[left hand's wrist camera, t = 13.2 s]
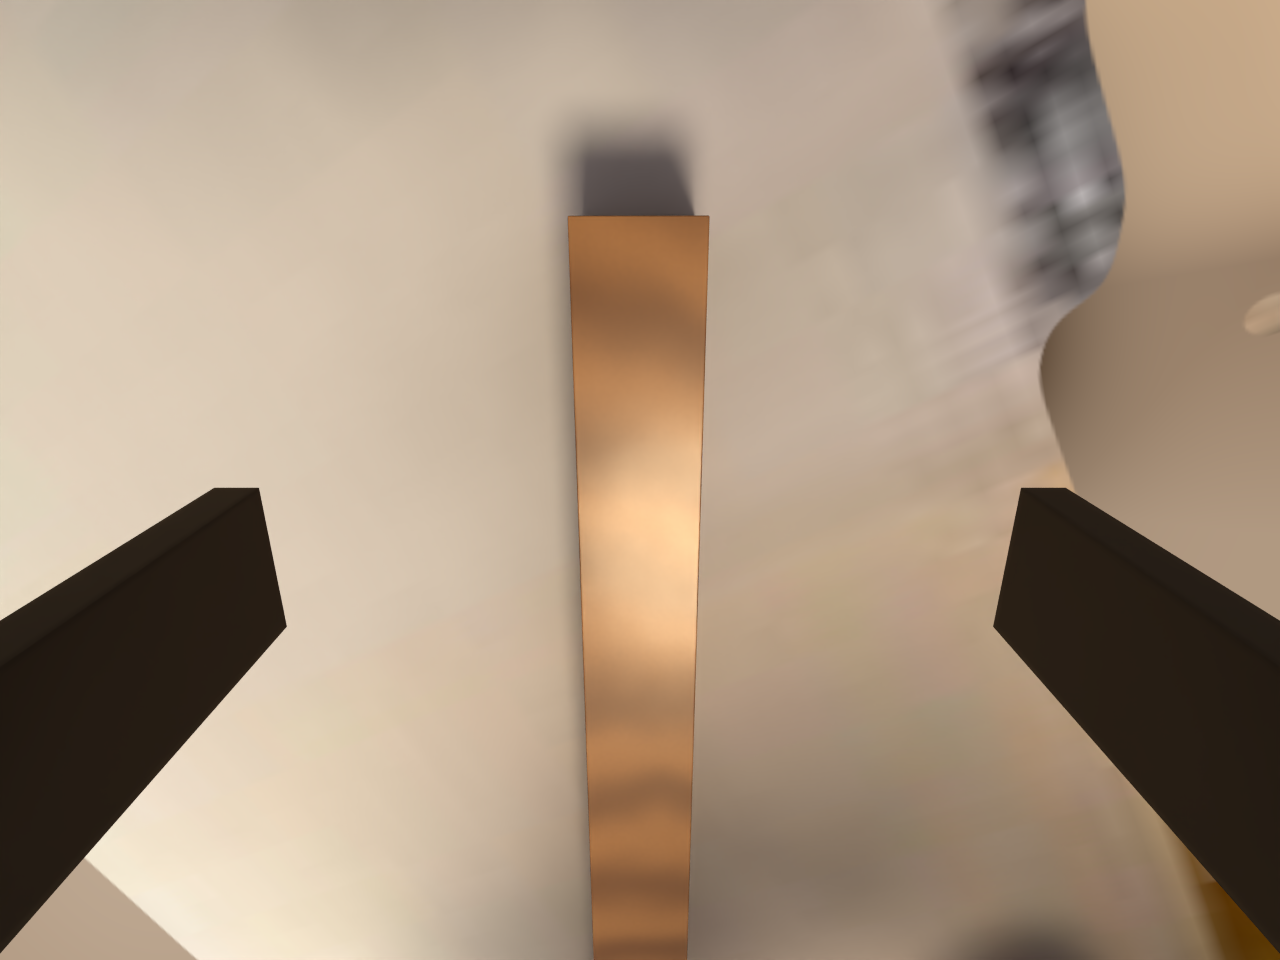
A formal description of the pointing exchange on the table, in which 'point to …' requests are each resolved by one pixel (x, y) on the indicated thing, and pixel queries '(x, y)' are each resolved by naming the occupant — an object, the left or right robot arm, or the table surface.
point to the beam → (639, 562)
